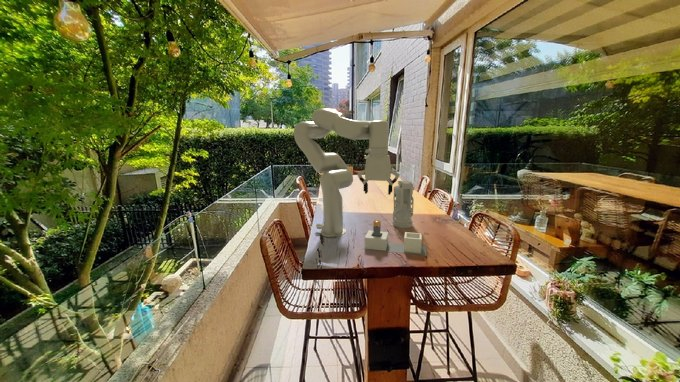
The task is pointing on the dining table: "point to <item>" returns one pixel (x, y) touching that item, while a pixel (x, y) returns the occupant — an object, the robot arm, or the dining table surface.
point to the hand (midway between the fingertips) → (377, 193)
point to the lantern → (403, 204)
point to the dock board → (381, 243)
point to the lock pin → (376, 228)
